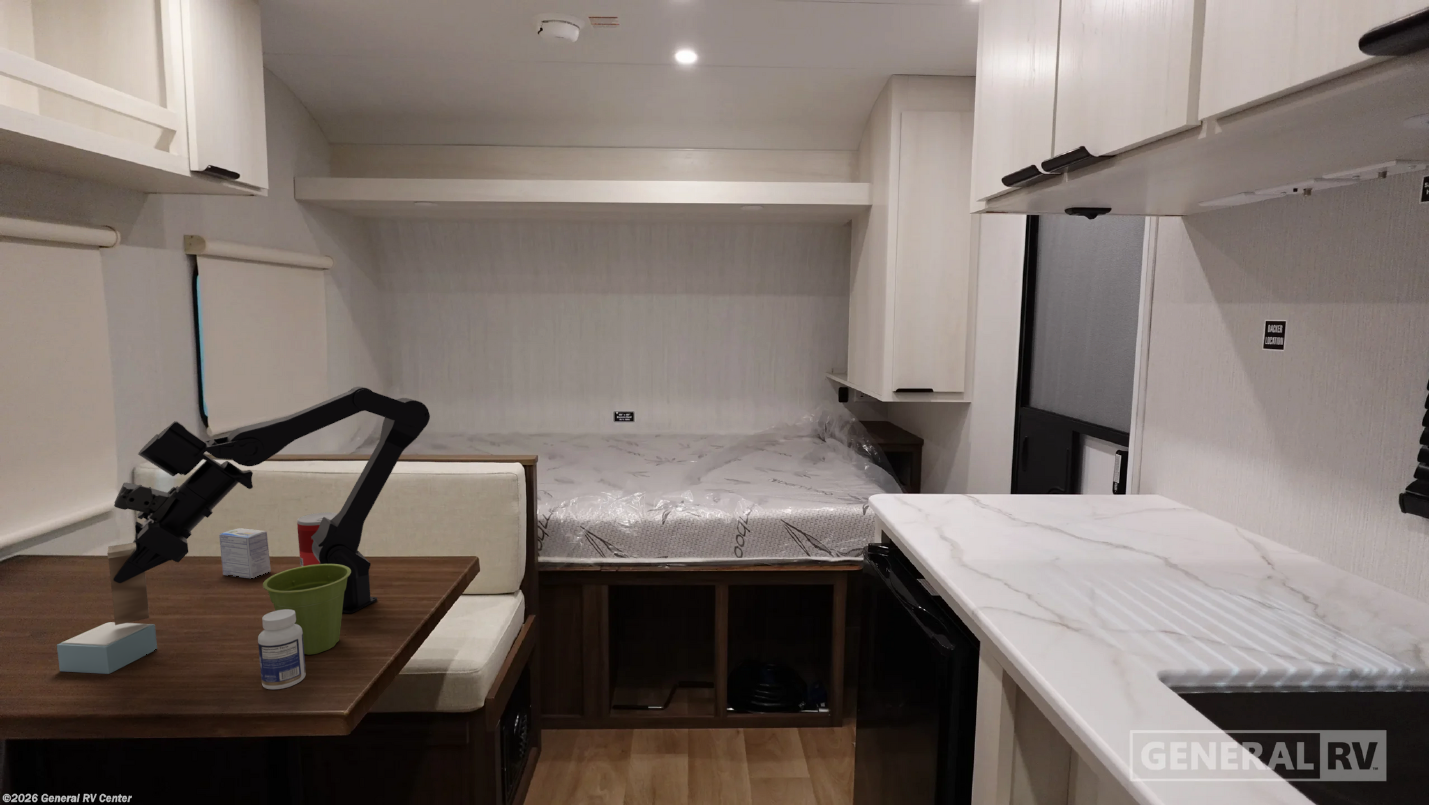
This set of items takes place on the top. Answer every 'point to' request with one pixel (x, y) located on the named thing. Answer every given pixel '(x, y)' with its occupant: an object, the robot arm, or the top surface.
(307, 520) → the canned food
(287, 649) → the pill bottle
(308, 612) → the plant pot
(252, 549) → the medicine box
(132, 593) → the beige block
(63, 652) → the stand
